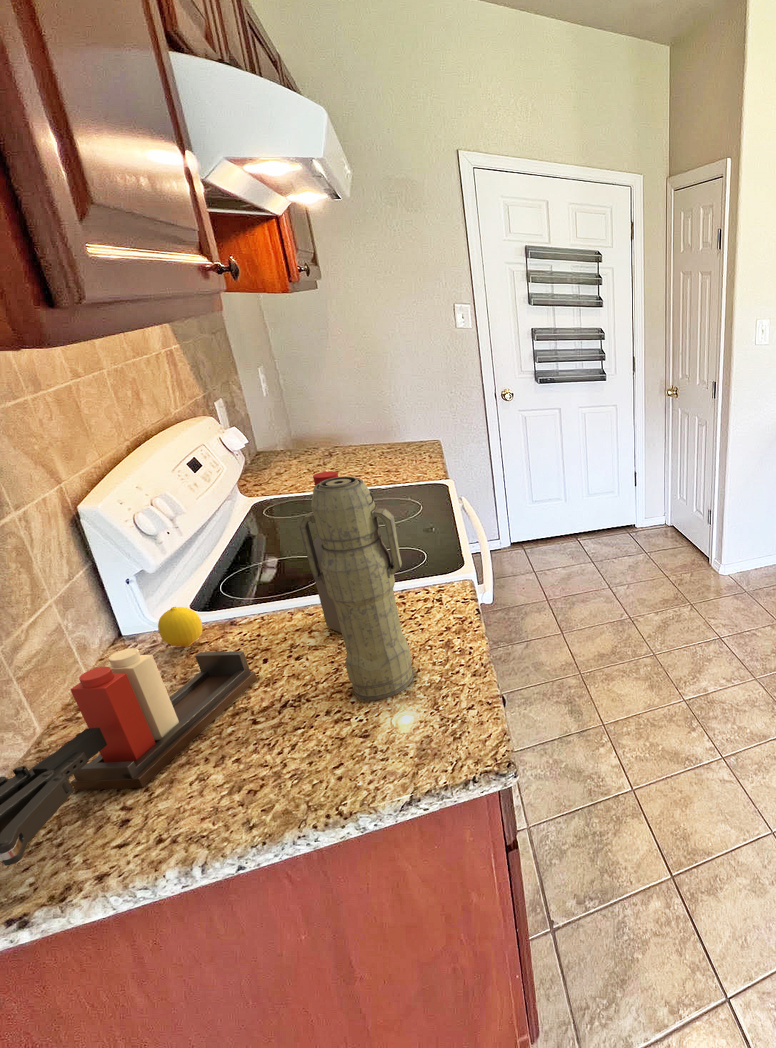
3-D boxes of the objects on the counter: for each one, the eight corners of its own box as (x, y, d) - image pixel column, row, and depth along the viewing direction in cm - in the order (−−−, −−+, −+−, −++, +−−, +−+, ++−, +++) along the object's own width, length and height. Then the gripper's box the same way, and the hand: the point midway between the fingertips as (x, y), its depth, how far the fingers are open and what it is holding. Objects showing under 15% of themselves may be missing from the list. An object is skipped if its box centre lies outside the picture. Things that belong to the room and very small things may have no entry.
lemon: (167, 644, 102) (152, 605, 99) (208, 634, 105) (194, 596, 102) (165, 659, 98) (150, 619, 95) (208, 648, 101) (194, 609, 98)
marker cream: (131, 741, 78) (96, 661, 74) (150, 725, 81) (117, 647, 76) (163, 740, 79) (129, 660, 74) (180, 724, 81) (149, 647, 77)
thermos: (423, 689, 92) (383, 486, 80) (338, 708, 88) (281, 496, 75) (425, 659, 100) (388, 468, 87) (346, 675, 95) (296, 476, 83)
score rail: (74, 790, 73) (58, 757, 71) (205, 680, 93) (195, 652, 91) (142, 787, 73) (127, 754, 71) (257, 678, 94) (248, 650, 92)
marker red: (104, 764, 75) (65, 681, 70) (125, 746, 77) (88, 666, 73) (137, 762, 75) (101, 680, 70) (156, 745, 78) (123, 665, 73)
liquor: (397, 616, 112) (367, 471, 102) (351, 639, 105) (314, 485, 94) (367, 605, 116) (335, 464, 105) (321, 626, 108) (281, 477, 98)
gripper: (-217, 967, 50) (52, 761, 72) (-54, 957, 51) (162, 757, 73) (-268, 910, 48) (28, 714, 70) (-95, 900, 49) (142, 710, 71)
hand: (96, 736), depth 71 cm, fingers closed
